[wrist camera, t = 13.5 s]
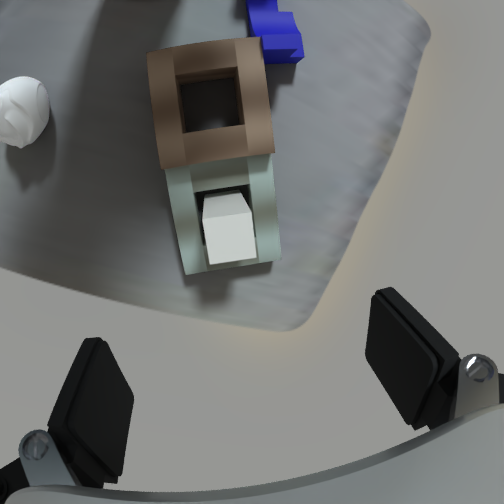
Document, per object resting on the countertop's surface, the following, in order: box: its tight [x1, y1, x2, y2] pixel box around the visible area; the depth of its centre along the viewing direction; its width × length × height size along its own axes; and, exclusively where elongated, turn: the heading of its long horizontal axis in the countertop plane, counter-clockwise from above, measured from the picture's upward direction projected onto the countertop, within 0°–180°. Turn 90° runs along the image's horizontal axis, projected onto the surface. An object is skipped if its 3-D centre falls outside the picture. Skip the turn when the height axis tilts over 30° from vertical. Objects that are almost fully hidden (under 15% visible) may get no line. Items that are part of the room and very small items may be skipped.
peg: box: [202, 190, 257, 265], centre depth 27 cm, size 4×4×10 cm
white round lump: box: [0, 77, 50, 149], centre depth 21 cm, size 8×8×8 cm
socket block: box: [146, 37, 281, 275], centre depth 27 cm, size 22×10×5 cm, turn 7°
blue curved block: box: [246, 0, 304, 64], centre depth 22 cm, size 12×4×6 cm, turn 7°
